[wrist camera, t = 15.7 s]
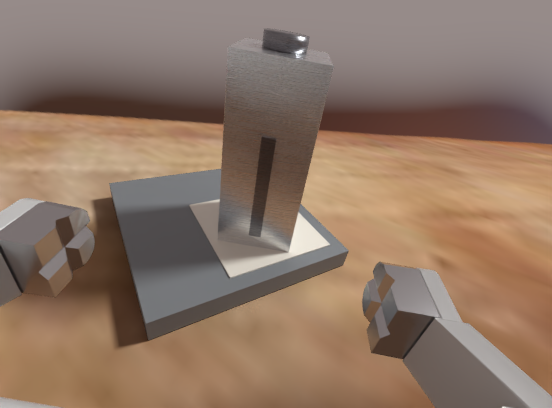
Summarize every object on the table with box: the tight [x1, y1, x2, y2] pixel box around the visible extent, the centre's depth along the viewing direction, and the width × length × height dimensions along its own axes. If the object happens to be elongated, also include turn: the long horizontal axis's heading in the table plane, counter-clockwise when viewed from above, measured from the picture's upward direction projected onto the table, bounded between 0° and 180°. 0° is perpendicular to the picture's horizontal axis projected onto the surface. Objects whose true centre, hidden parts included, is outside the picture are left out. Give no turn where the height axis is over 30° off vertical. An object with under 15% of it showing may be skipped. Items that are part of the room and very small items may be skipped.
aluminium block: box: [218, 29, 334, 252], centre depth 19 cm, size 5×5×13 cm
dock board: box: [109, 169, 348, 340], centre depth 23 cm, size 14×14×2 cm
